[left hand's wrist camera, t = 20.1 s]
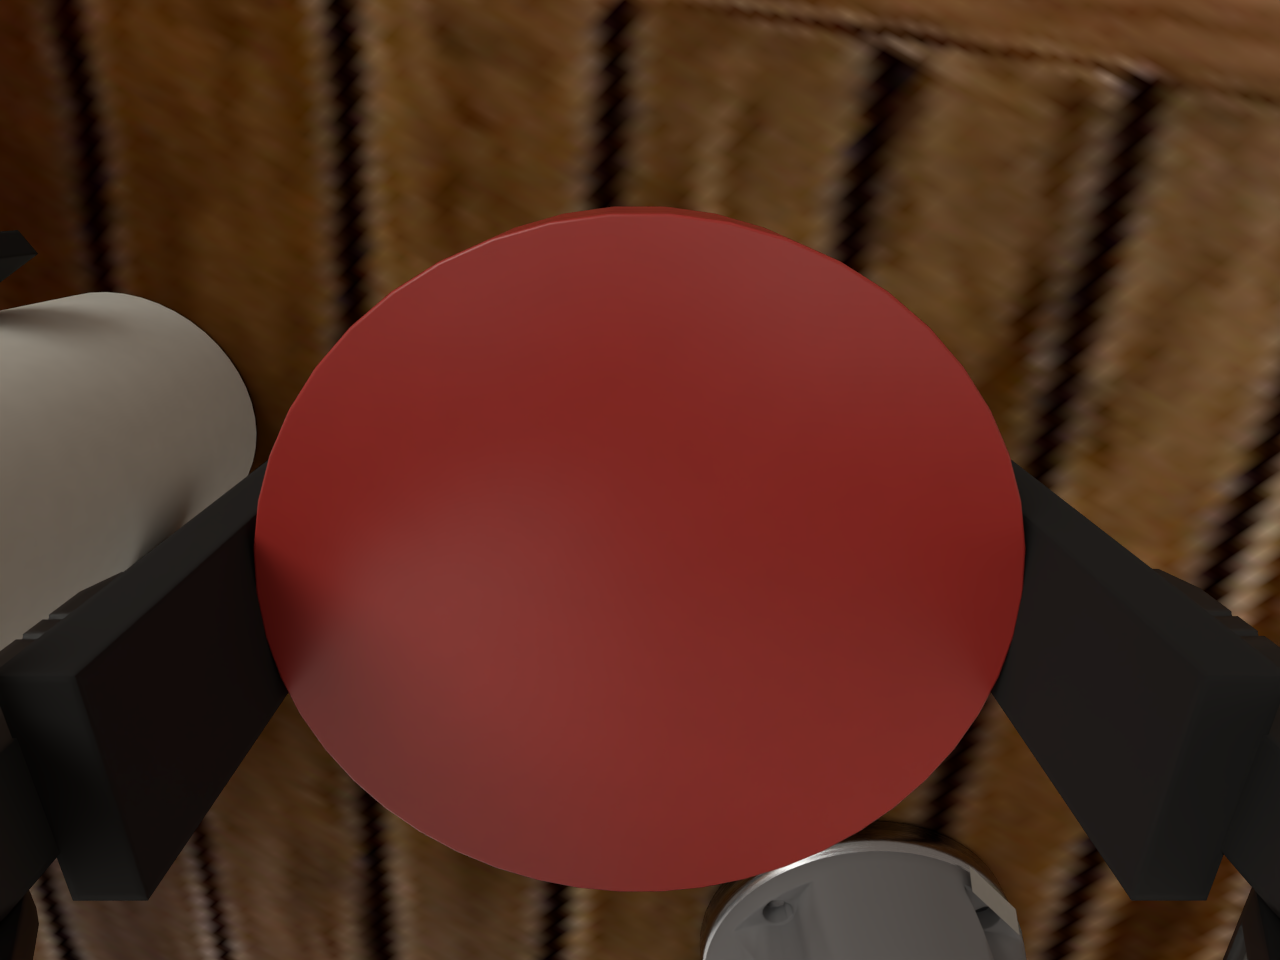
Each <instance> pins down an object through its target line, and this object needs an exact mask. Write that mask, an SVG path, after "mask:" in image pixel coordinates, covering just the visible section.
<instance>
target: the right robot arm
mask: <svg viewBox="0 0 1280 960" xmlns="http://www.w3.org/2000/svg"><path fill="white" fill-rule="evenodd" d="M37 254H38V253H37V252H36V251H35V250H34V249H33V247H32V246H31V245H30V244H29V243H28V242H27V240H26V239H25V238H24V237H23V236H22V235H21V233H20V232H19V231H18V230H15V231H2V232H0V282H1V281H3V280H4V279H5V278H6V277H8V276H9V275H10V274H12V273H13V272H14V271H16V270H17V269H18V268H20V267H21V266H22V265H24V264H25V263H26V262H28V261H29V260H30V259H32V258H33V257H34V256H36V255H37Z"/></svg>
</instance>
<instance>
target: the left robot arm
mask: <svg viewBox="0 0 1280 960" xmlns="http://www.w3.org/2000/svg"><path fill="white" fill-rule="evenodd" d="M1011 463H1012V467H1013V471H1014V475H1015V479H1016V483H1017V487H1018V491H1019V495H1020V499H1021V505H1022V516H1023V527H1024V538H1025V564H1024V581H1023V592H1022V596H1021V601H1020V606H1019V611H1018V616H1017V620H1016V625H1015V630H1014V635H1013V639H1012V642H1011V644H1010V647H1009V650H1008V653H1007V655H1006V658H1005V661H1004V664H1003V666H1002V669H1001V672H1000V675H999V677H998V679H997V681H996V683H995V685H994V686H993V688H992V690H991V693H992V694H993V696H994V697H995V699H996V700H997V702H998V703H999V705H1000V706H1001V708H1002V709H1003V711H1004V712H1005V714H1006V715H1007V717H1008V718H1009V720H1010V721H1011V722H1012V724H1013V725H1014V727H1015V728H1016V730H1017V731H1018V733H1019V734H1020V736H1021V737H1022V739H1023V740H1024V742H1025V743H1026V745H1027V746H1028V748H1029V749H1030V751H1031V752H1032V754H1033V755H1034V757H1035V758H1036V760H1037V761H1038V762H1039V764H1040V765H1041V767H1042V768H1043V770H1044V771H1045V773H1046V774H1047V776H1048V777H1049V779H1050V780H1051V782H1052V783H1053V785H1054V786H1055V788H1056V789H1057V791H1058V792H1059V794H1060V795H1061V797H1062V798H1063V800H1064V801H1065V802H1066V804H1067V805H1068V807H1069V808H1070V810H1071V811H1072V813H1073V814H1074V816H1075V817H1076V819H1077V820H1078V822H1079V823H1080V825H1081V826H1082V828H1083V829H1084V831H1085V832H1086V834H1087V835H1088V837H1089V838H1090V840H1091V841H1092V842H1093V844H1094V845H1095V847H1096V848H1097V850H1098V851H1099V853H1100V854H1101V856H1102V857H1103V859H1104V860H1105V862H1106V863H1107V865H1108V866H1109V868H1110V869H1111V871H1112V872H1113V874H1114V875H1115V877H1116V878H1117V880H1118V881H1119V882H1120V884H1121V885H1122V887H1123V888H1124V890H1125V891H1126V893H1127V894H1128V896H1129V897H1130V899H1131V900H1207V897H1208V894H1209V892H1210V889H1211V886H1212V884H1213V881H1214V878H1215V876H1216V873H1217V870H1218V868H1219V865H1220V862H1221V860H1222V857H1223V854H1224V855H1225V856H1226V857H1227V858H1228V860H1229V861H1230V862H1231V863H1232V864H1233V865H1234V867H1235V868H1236V869H1237V870H1238V871H1239V872H1240V874H1241V875H1242V876H1243V877H1244V878H1245V879H1246V881H1247V882H1248V883H1249V884H1250V885H1251V886H1252V889H1251V891H1250V894H1249V896H1248V899H1247V901H1246V903H1245V906H1244V908H1243V911H1242V913H1241V916H1240V918H1239V921H1238V923H1237V926H1236V928H1235V931H1234V933H1233V936H1232V938H1231V941H1230V943H1229V946H1228V948H1227V951H1226V953H1225V956H1224V958H1223V960H1280V647H1278V646H1277V645H1276V644H1274V643H1273V642H1272V641H1270V640H1269V639H1268V638H1266V637H1265V636H1258V631H1257V630H1256V629H1254V628H1253V627H1251V626H1250V625H1249V624H1247V623H1246V622H1245V621H1243V620H1242V619H1241V618H1239V617H1238V616H1232V614H1231V611H1230V610H1229V609H1227V608H1226V607H1225V606H1223V605H1222V604H1221V603H1219V602H1218V601H1216V600H1215V599H1214V598H1212V597H1211V596H1210V595H1208V594H1207V593H1206V592H1204V591H1203V590H1202V589H1200V588H1198V587H1196V586H1194V585H1192V584H1190V583H1187V582H1185V581H1183V580H1181V579H1179V578H1177V577H1175V576H1172V575H1170V574H1168V573H1166V572H1164V571H1162V570H1160V569H1152V568H1150V567H1149V566H1148V565H1146V564H1145V563H1144V562H1142V561H1141V560H1140V559H1139V558H1137V557H1136V556H1135V555H1133V554H1132V553H1131V552H1130V551H1128V550H1127V549H1126V548H1124V547H1123V546H1122V545H1121V544H1119V543H1118V542H1117V541H1115V540H1114V539H1113V538H1111V537H1110V536H1109V535H1108V534H1106V533H1105V532H1104V531H1102V530H1101V529H1100V528H1099V527H1097V526H1096V525H1095V524H1093V523H1092V522H1091V521H1090V520H1088V519H1087V518H1086V517H1084V516H1083V515H1082V514H1080V513H1079V512H1078V511H1077V510H1075V509H1074V508H1073V507H1071V506H1070V505H1069V504H1068V503H1066V502H1065V501H1064V500H1062V499H1061V498H1060V497H1059V496H1057V495H1056V494H1055V493H1053V492H1052V491H1051V490H1050V489H1048V488H1047V487H1046V486H1044V485H1043V484H1042V483H1040V482H1039V481H1038V480H1037V479H1035V478H1034V477H1033V476H1031V475H1030V474H1029V473H1028V472H1026V471H1025V470H1024V469H1022V468H1021V467H1020V466H1019V465H1017V464H1016V463H1015V462H1013V461H1012V460H1011ZM267 464H268V460H267V461H266V462H265V463H264V464H262V465H261V466H260V467H258V468H257V469H256V470H254V471H253V472H252V473H251V474H249V475H248V476H247V477H245V478H244V479H243V480H242V481H240V482H239V483H238V484H236V485H235V486H234V487H233V488H231V489H230V490H229V491H227V492H226V493H225V494H223V495H222V496H221V497H220V498H218V499H217V500H216V501H214V502H213V503H212V504H211V505H209V506H208V507H207V508H205V509H204V510H203V511H202V512H200V513H199V514H198V515H196V516H195V517H194V518H192V519H191V520H190V521H189V522H187V523H186V524H185V525H183V526H182V527H181V528H180V529H178V530H177V531H176V532H174V533H173V534H172V535H171V536H169V537H168V538H167V539H165V540H164V541H163V542H161V543H160V544H159V545H158V546H156V547H155V548H154V549H152V550H151V551H150V552H149V553H147V554H146V555H145V556H143V557H142V558H141V559H140V560H138V561H137V562H136V563H134V564H133V565H132V566H130V567H129V568H128V569H127V570H125V571H124V572H120V573H118V574H116V575H114V576H112V577H110V578H108V579H105V580H103V581H101V582H99V583H97V584H95V585H93V586H90V587H88V588H86V589H84V590H82V591H80V592H78V593H77V594H76V595H74V596H73V597H72V598H70V599H69V600H68V601H66V602H65V603H64V604H62V605H61V606H60V607H58V608H57V609H56V610H54V611H53V612H52V613H50V614H49V618H48V619H42V620H41V621H40V622H38V623H37V624H36V625H34V626H33V627H32V628H30V629H29V630H28V631H26V632H25V633H24V634H23V638H22V639H16V640H14V641H13V642H12V643H10V644H9V645H8V646H6V647H5V648H4V649H2V650H1V651H0V960H33V956H34V950H35V944H36V938H37V932H38V926H39V922H38V916H37V910H36V906H35V903H34V901H33V899H32V896H31V894H30V891H29V889H30V888H31V887H32V886H33V885H34V883H35V882H36V881H37V880H38V879H39V877H40V876H41V875H42V874H43V873H44V872H45V870H46V869H47V868H48V867H49V866H50V865H51V863H52V862H53V861H54V860H55V859H56V857H57V859H58V862H59V864H60V867H61V870H62V872H63V875H64V878H65V880H66V883H67V886H68V888H69V891H70V894H71V896H72V899H73V901H106V900H148V899H149V898H150V896H151V895H152V894H153V892H154V891H155V889H156V888H157V886H158V885H159V883H160V882H161V880H162V879H163V877H164V876H165V874H166V873H167V871H168V870H169V868H170V867H171V865H172V864H173V862H174V861H175V859H176V858H177V856H178V855H179V854H180V852H181V851H182V849H183V848H184V846H185V845H186V843H187V842H188V840H189V839H190V837H191V836H192V834H193V833H194V831H195V830H196V828H197V827H198V825H199V824H200V822H201V821H202V819H203V818H204V816H205V815H206V814H207V812H208V811H209V809H210V808H211V806H212V805H213V803H214V802H215V800H216V799H217V797H218V796H219V794H220V793H221V791H222V790H223V788H224V787H225V785H226V784H227V782H228V781H229V779H230V778H231V777H232V775H233V774H234V772H235V771H236V769H237V768H238V766H239V765H240V763H241V762H242V760H243V759H244V757H245V756H246V754H247V753H248V751H249V750H250V748H251V747H252V745H253V744H254V742H255V741H256V739H257V738H258V737H259V735H260V734H261V732H262V731H263V729H264V728H265V726H266V725H267V723H268V722H269V720H270V719H271V717H272V716H273V714H274V713H275V711H276V710H277V708H278V707H279V705H280V704H281V702H282V701H283V699H284V698H285V697H286V695H287V694H288V690H287V688H286V686H285V685H284V683H283V681H282V679H281V677H280V674H279V672H278V669H277V666H276V663H275V661H274V658H273V655H272V652H271V650H270V647H269V644H268V642H267V638H266V634H265V629H264V625H263V620H262V615H261V610H260V606H259V601H258V596H257V591H256V578H255V562H254V540H255V529H256V518H257V507H258V499H259V495H260V491H261V487H262V483H263V479H264V476H265V472H266V468H267ZM700 951H701V960H1026V954H1025V948H1024V943H1023V937H1022V932H1021V929H1020V926H1019V923H1018V920H1017V915H1016V909H1015V908H1014V907H1013V906H1012V905H1011V904H1010V903H1009V902H1008V900H1007V898H1006V896H1005V894H1004V892H1003V891H1002V889H1001V887H1000V885H999V883H998V881H997V879H996V877H995V876H994V875H993V873H992V872H991V870H990V869H989V868H988V867H987V866H986V865H985V863H984V862H983V861H982V860H981V859H980V858H978V857H977V856H976V855H975V854H974V853H973V852H971V851H970V850H968V849H967V848H966V847H964V846H963V845H961V844H959V843H958V842H956V841H954V840H952V839H950V838H948V837H946V836H944V835H941V834H939V833H937V832H934V831H931V830H927V829H924V828H921V827H917V826H912V825H908V824H902V823H895V822H884V821H874V822H872V823H871V824H869V825H868V826H867V827H865V828H864V829H862V830H861V831H859V832H857V833H855V834H854V835H852V836H850V837H848V838H846V839H844V840H842V841H841V842H839V843H837V844H835V845H833V846H831V847H830V848H828V849H826V850H824V851H822V852H819V853H817V854H815V855H812V856H810V857H807V858H805V859H803V860H800V861H798V862H795V863H793V864H790V865H788V866H786V867H783V868H780V869H776V870H773V871H770V872H766V873H763V874H760V875H756V876H753V877H750V878H746V879H742V880H737V881H732V882H727V883H723V884H722V885H721V886H720V888H719V889H718V890H717V892H716V893H715V895H714V897H713V898H712V900H711V902H710V904H709V906H708V908H707V910H706V913H705V916H704V919H703V923H702V928H701V934H700Z"/></svg>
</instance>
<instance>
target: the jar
mask: <svg viewBox="0 0 1280 960" xmlns="http://www.w3.org/2000/svg"><path fill="white" fill-rule="evenodd" d="M255 449H256V422H255V415H254V411H253V407H252V402H251V400H250V397H249V394H248V391H247V389H246V386H245V385H244V383H243V381H242V379H241V377H240V375H239V373H238V371H237V370H236V368H235V367H234V365H233V364H232V362H231V361H230V359H229V358H228V357H227V355H226V354H225V353H224V352H223V351H222V349H221V348H220V347H219V346H218V345H217V344H216V343H215V342H214V341H213V340H212V339H211V338H210V337H209V336H208V335H207V334H206V333H205V332H204V331H202V330H201V329H200V328H199V327H197V326H196V325H195V324H193V323H192V322H191V321H189V320H188V319H186V318H185V317H183V316H181V315H180V314H178V313H176V312H175V311H173V310H171V309H169V308H166V307H164V306H162V305H160V304H158V303H155V302H152V301H149V300H147V299H144V298H141V297H136V296H132V295H127V294H121V293H110V292H98V293H86V294H81V295H75V296H70V297H65V298H60V299H55V300H51V301H46V302H41V303H36V304H31V305H26V306H21V307H16V308H12V309H7V310H2V311H0V651H1V650H2V649H4V648H5V647H6V646H8V645H9V644H10V643H12V642H13V641H14V640H16V639H22V638H23V634H24V633H25V632H26V631H28V630H29V629H30V628H32V627H33V626H34V625H36V624H37V623H38V622H40V621H41V620H42V619H48V618H49V614H50V613H52V612H53V611H54V610H56V609H57V608H58V607H60V606H61V605H62V604H64V603H65V602H66V601H68V600H69V599H70V598H72V597H73V596H74V595H76V594H77V593H78V592H80V591H82V590H84V589H86V588H88V587H90V586H93V585H95V584H97V583H99V582H101V581H103V580H105V579H108V578H110V577H112V576H114V575H116V574H118V573H120V572H124V571H125V570H127V569H128V568H129V567H130V566H132V565H133V564H134V563H136V562H137V561H138V560H140V559H141V558H142V557H143V556H145V555H146V554H147V553H149V552H150V551H151V550H152V549H154V548H155V547H156V546H158V545H159V544H160V543H161V542H163V541H164V540H165V539H167V538H168V537H169V536H171V535H172V534H173V533H174V532H176V531H177V530H178V529H180V528H181V527H182V526H183V525H185V524H186V523H187V522H189V521H190V520H191V519H192V518H194V517H195V516H196V515H198V514H199V513H200V512H202V511H203V510H204V509H205V508H207V507H208V506H209V505H211V504H212V503H213V502H214V501H216V500H217V499H218V498H220V497H221V496H222V495H223V494H225V493H226V492H227V491H229V490H230V489H231V488H233V487H234V486H235V485H236V484H238V483H239V482H240V481H242V480H243V479H244V478H245V477H247V476H248V474H249V471H250V468H251V465H252V463H253V459H254V454H255Z"/></svg>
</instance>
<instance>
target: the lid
mask: <svg viewBox="0 0 1280 960" xmlns="http://www.w3.org/2000/svg"><path fill="white" fill-rule="evenodd" d="M254 562H255V578H256V591H257V596H258V601H259V606H260V610H261V615H262V620H263V625H264V629H265V634H266V638H267V642H268V644H269V647H270V650H271V652H272V655H273V658H274V661H275V663H276V666H277V669H278V672H279V674H280V677H281V679H282V681H283V683H284V685H285V686H286V688H287V690H288V692H289V694H290V696H291V698H292V700H293V702H294V703H295V705H296V707H297V709H298V711H299V713H300V715H301V716H302V717H303V719H304V720H305V722H306V723H307V725H308V726H309V727H310V729H311V730H312V732H313V733H314V734H315V736H316V737H317V739H318V740H319V741H320V743H321V744H322V746H323V747H324V749H325V750H326V751H327V752H328V753H329V754H330V755H331V756H332V757H333V759H334V760H335V761H336V762H337V763H338V764H339V765H340V766H341V767H342V768H343V769H344V771H345V772H346V773H347V774H348V775H349V776H350V777H351V778H352V779H353V780H354V781H355V782H356V783H357V784H358V785H359V786H361V787H362V788H363V789H364V790H365V791H366V792H367V793H369V794H370V795H371V796H372V797H373V798H374V799H376V800H377V801H378V802H379V803H380V804H381V805H383V806H384V807H385V808H386V809H388V810H389V811H391V812H392V813H393V814H395V815H396V816H398V817H399V818H401V819H402V820H404V821H405V822H407V823H408V824H410V825H411V826H412V827H414V828H415V829H417V830H418V831H420V832H422V833H423V834H425V835H427V836H429V837H431V838H433V839H435V840H436V841H438V842H440V843H442V844H444V845H446V846H448V847H449V848H451V849H453V850H455V851H457V852H459V853H462V854H464V855H467V856H469V857H471V858H474V859H476V860H479V861H481V862H484V863H486V864H489V865H491V866H493V867H496V868H499V869H503V870H506V871H509V872H513V873H516V874H519V875H523V876H526V877H529V878H533V879H536V880H541V881H547V882H552V883H557V884H562V885H567V886H572V887H578V888H589V889H599V890H610V891H670V890H680V889H690V888H700V887H707V886H712V885H717V884H722V883H727V882H732V881H737V880H742V879H746V878H750V877H753V876H756V875H760V874H763V873H766V872H770V871H773V870H776V869H780V868H783V867H786V866H788V865H790V864H793V863H795V862H798V861H800V860H803V859H805V858H807V857H810V856H812V855H815V854H817V853H819V852H822V851H824V850H826V849H828V848H830V847H831V846H833V845H835V844H837V843H839V842H841V841H842V840H844V839H846V838H848V837H850V836H852V835H854V834H855V833H857V832H859V831H861V830H862V829H864V828H865V827H867V826H868V825H869V824H871V823H872V822H874V821H875V820H877V819H878V818H880V817H881V816H883V815H884V814H885V813H887V812H888V811H890V810H891V809H893V808H894V807H895V806H896V805H898V804H899V803H900V802H901V801H902V800H903V799H905V798H906V797H907V796H908V795H909V794H910V793H911V792H913V791H914V790H915V789H916V788H917V787H918V786H920V785H921V784H922V783H923V782H924V781H925V780H926V779H927V778H928V777H929V776H930V775H931V774H932V773H933V772H934V771H935V769H936V768H937V767H938V766H939V765H940V764H941V763H942V762H943V761H944V760H945V758H946V757H947V756H948V755H949V754H950V753H951V752H952V751H953V750H954V749H955V747H956V746H957V744H958V743H959V742H960V740H961V739H962V737H963V736H964V734H965V733H966V732H967V730H968V729H969V727H970V726H971V725H972V723H973V722H974V720H975V719H976V717H977V716H978V715H979V713H980V711H981V709H982V707H983V705H984V704H985V702H986V700H987V698H988V696H989V694H990V692H991V690H992V688H993V686H994V685H995V683H996V681H997V679H998V677H999V675H1000V672H1001V669H1002V666H1003V664H1004V661H1005V658H1006V655H1007V653H1008V650H1009V647H1010V644H1011V642H1012V639H1013V635H1014V630H1015V625H1016V620H1017V616H1018V611H1019V606H1020V601H1021V596H1022V592H1023V581H1024V564H1025V538H1024V527H1023V516H1022V505H1021V499H1020V495H1019V491H1018V487H1017V483H1016V479H1015V475H1014V471H1013V467H1012V463H1011V459H1010V455H1009V453H1008V450H1007V448H1006V446H1005V443H1004V441H1003V439H1002V436H1001V434H1000V431H999V429H998V427H997V424H996V422H995V420H994V417H993V415H992V413H991V410H990V409H989V407H988V405H987V404H986V402H985V401H984V399H983V397H982V396H981V394H980V393H979V391H978V389H977V388H976V386H975V385H974V383H973V381H972V380H971V378H970V377H969V375H968V373H967V372H966V370H965V368H964V367H963V366H962V365H961V363H960V362H959V361H958V360H957V359H956V358H955V357H954V355H953V354H952V353H951V352H950V351H949V350H948V348H947V347H946V346H945V345H944V344H943V343H942V341H941V340H940V339H939V338H938V337H937V336H936V334H935V333H934V332H933V331H932V330H931V329H930V327H928V326H927V325H926V324H925V323H924V322H923V321H922V320H920V319H919V318H918V317H917V316H916V315H915V314H913V313H912V312H911V311H910V310H909V309H908V308H906V307H905V306H904V305H903V304H902V303H901V302H899V301H898V300H897V299H896V298H895V297H894V296H892V295H891V294H890V293H889V292H888V291H886V290H885V289H883V288H881V287H880V286H878V285H877V284H875V283H874V282H872V281H870V280H869V279H867V278H866V277H864V276H862V275H861V274H859V273H858V272H856V271H855V270H853V269H851V268H850V267H848V266H847V265H845V264H843V263H842V262H840V261H838V260H836V259H834V258H831V257H829V256H827V255H825V254H822V253H820V252H818V251H816V250H813V249H811V248H809V247H807V246H804V245H802V244H800V243H798V242H795V241H793V240H791V239H789V238H786V237H784V236H782V235H780V234H777V233H775V232H773V231H771V230H768V229H766V228H764V227H760V226H757V225H753V224H750V223H746V222H743V221H739V220H736V219H732V218H729V217H725V216H722V215H718V214H714V213H707V212H700V211H693V210H685V209H678V208H671V207H608V208H601V209H594V210H587V211H580V212H572V213H565V214H561V215H557V216H554V217H551V218H547V219H544V220H540V221H537V222H533V223H530V224H526V225H523V226H519V227H516V228H513V229H511V230H509V231H506V232H504V233H502V234H500V235H497V236H495V237H493V238H491V239H488V240H486V241H484V242H482V243H479V244H477V245H475V246H473V247H470V248H468V249H466V250H464V251H462V252H459V253H457V254H455V255H453V256H450V257H448V258H446V259H444V260H441V261H439V262H437V263H436V264H434V265H433V266H431V267H430V268H428V269H426V270H425V271H423V272H422V273H420V274H419V275H417V276H415V277H414V278H412V279H411V280H409V281H407V282H406V283H404V284H403V285H401V286H400V287H398V288H396V289H395V290H393V291H392V292H390V293H389V294H388V295H387V296H386V297H385V298H383V299H382V300H381V301H380V302H379V303H378V304H376V305H375V306H374V307H373V308H372V309H371V310H369V311H368V312H367V313H366V314H365V315H364V316H362V317H361V318H360V319H359V320H358V321H357V322H356V323H354V324H353V325H352V326H351V327H350V328H349V329H348V330H347V331H346V332H345V334H344V335H343V336H342V337H341V338H340V339H339V341H338V342H337V343H336V344H335V345H334V346H333V348H332V349H331V350H330V351H329V352H328V353H327V355H326V356H325V357H324V358H323V359H322V360H321V362H320V363H319V364H318V365H317V366H316V367H315V369H314V371H313V372H312V374H311V375H310V377H309V379H308V380H307V382H306V383H305V385H304V387H303V388H302V390H301V391H300V393H299V395H298V396H297V398H296V399H295V401H294V403H293V404H292V406H291V408H290V409H289V411H288V413H287V416H286V418H285V420H284V423H283V425H282V427H281V430H280V432H279V434H278V437H277V439H276V441H275V444H274V446H273V449H272V451H271V453H270V456H269V460H268V464H267V468H266V472H265V476H264V479H263V483H262V487H261V491H260V495H259V499H258V507H257V518H256V529H255V540H254Z"/></svg>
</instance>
